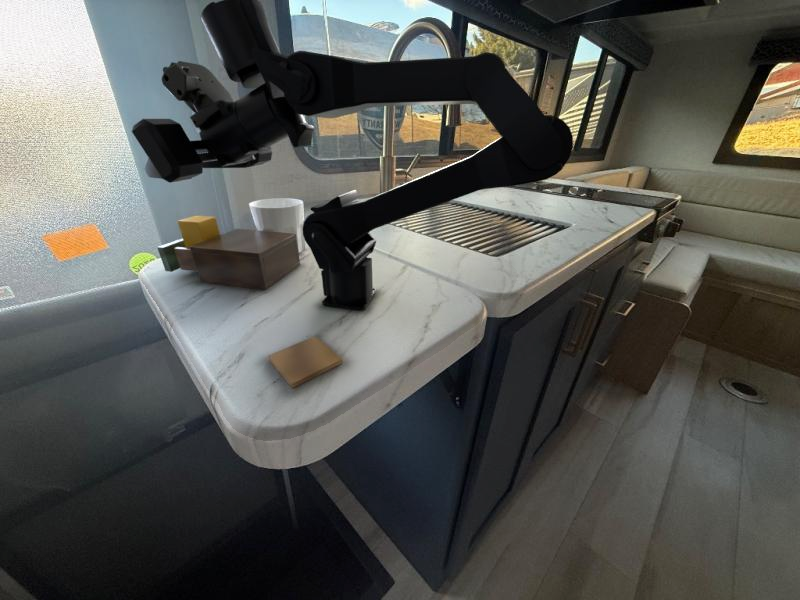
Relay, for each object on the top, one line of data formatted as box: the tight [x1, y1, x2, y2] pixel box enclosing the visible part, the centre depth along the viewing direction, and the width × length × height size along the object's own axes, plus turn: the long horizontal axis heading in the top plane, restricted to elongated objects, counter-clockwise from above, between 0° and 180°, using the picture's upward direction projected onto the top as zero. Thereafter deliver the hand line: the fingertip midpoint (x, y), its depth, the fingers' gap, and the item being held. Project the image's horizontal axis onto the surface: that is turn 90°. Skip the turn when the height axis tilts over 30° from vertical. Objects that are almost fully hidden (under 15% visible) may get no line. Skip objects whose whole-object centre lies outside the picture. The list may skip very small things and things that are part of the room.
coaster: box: [267, 336, 343, 389], centre depth 34 cm, size 6×6×1 cm
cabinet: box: [190, 228, 301, 291], centre depth 54 cm, size 12×11×6 cm
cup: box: [248, 197, 306, 254], centre depth 64 cm, size 10×10×10 cm
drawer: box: [156, 237, 198, 273], centre depth 55 cm, size 12×10×4 cm
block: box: [177, 215, 221, 248], centre depth 54 cm, size 4×4×7 cm
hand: (176, 168), depth 45 cm, fingers open, 9 cm apart
